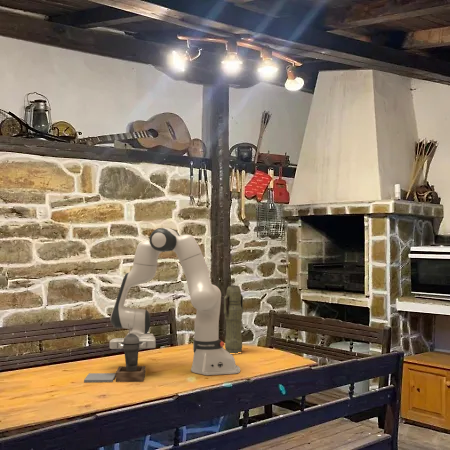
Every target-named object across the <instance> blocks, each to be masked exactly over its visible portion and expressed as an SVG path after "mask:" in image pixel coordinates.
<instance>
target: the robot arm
mask: <svg viewBox="0 0 450 450" xmlns="http://www.w3.org/2000/svg"><path fill="white" fill-rule="evenodd" d="M148 239H149V240H147V239H146V240H142V241H140V242H139V243H138V244H137V246H136V249H135V253H134V256H133V257H134V258H133V262H132V263H133V264H132V267H131V269H130V270H129V272H126V273H125V274H124V276H123V278H122V281H121V285H120V288H119V291H118V294H117V298H116V301H115V304H114V307H113V308H112V311H111V314H110V317H109V318H110V319H109V320H110V321H109V322H110V324H111V325H112V326H113V327H114V328H115V329H128V330H129V328H128V324H129V327H130V334H135V335H136V336H137V337H138V338H139V342H140V343H139V350H138V351H141V350H146V349H147V350H148V349H156V347H157V346H156V345H157V344H156V337H155V336H154V334H153V333H150V329H151V321H152V319H151V318H152V317H151V313H150V312H149V311H148V310H147V309H144V308H143V309H142V308H135V307H134V308H133V307H127V306H125V302H126V299H127V295H128V293H129V291H130V289H131V288H133V287H135V286H138V285H142V284H146V283H148V282H149V283H150V282H151V281H152V280H153V279H154V278H155V276H156V273H157V270H158V269H157V267H158V260H159V256H160V254H162V253H167V252H174V253H175V255H176V256H177V258H178V261H179V263H180V266H181V269H182V272H183V273H184V277H185V280H186V284H187V288H188V292H189V296H190V303H191V305H192V307H193V308H194V309H195V310H196V314H195V319H194V326H193V328H194V331H193V332H194V333H193V336H194V339H193V343H192V351H193V359H192V365H191V368H190V371H191V372H192V373H195V374H200V375H204V376H216V375H217V376H219V375H229V374H230V375H233V374H239V373H241V368H240V366H239V365H236V360H235V357H234V354H230V353H229V352H228V351H226V349H225V341H223V340H221V339H220V338H219V335H220V334H219V329H220V326H219V323H220V322H219V321H220V315H221V303H222V292H221V290H220V288H219V287H218V286H217V285H216V284H212V282H211V277H210V272H209V268H208V267H209V266H208V264H207V262H206V259H205V257H204V254H203V252H202V250H201V247H200V246H199V243H198V242H197V240H196V239H195V237H194V236H193V235H192V234H181V235H180V233H179V232H178V231H177V230H176V229H174V228H169V227H158V228H156V229H154V230H153V231H152V232H151V234H150V236H149V238H148ZM128 334H129V331H128V333H126V335H125V336H127V335H128ZM124 338H125V337H124ZM124 338H123V337H117V338H112V339H110V340H109V349H111V350H124V346H123V340H124Z"/></svg>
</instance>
